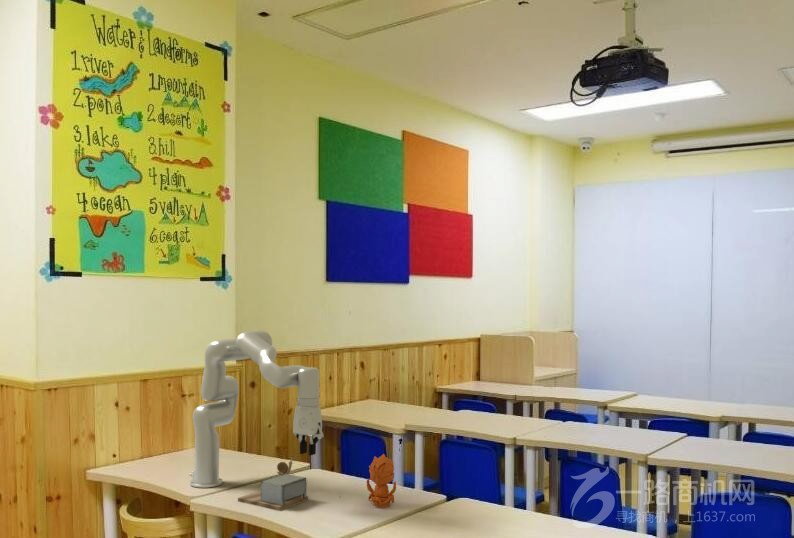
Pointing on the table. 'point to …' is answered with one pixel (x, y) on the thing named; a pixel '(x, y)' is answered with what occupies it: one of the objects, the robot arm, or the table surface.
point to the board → (256, 500)
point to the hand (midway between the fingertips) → (307, 453)
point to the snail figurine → (284, 467)
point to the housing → (282, 488)
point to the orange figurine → (381, 481)
